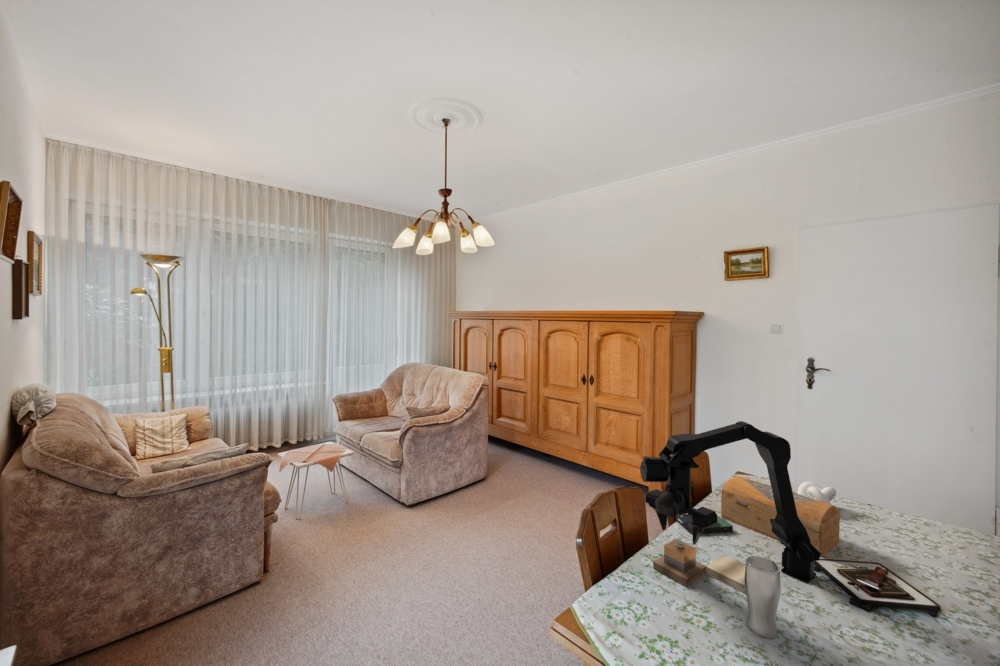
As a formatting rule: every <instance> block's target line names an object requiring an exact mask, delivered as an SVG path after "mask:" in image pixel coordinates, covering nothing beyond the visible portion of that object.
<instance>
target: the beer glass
mask: <svg viewBox="0 0 1000 666" xmlns="http://www.w3.org/2000/svg"><path fill="white" fill-rule="evenodd" d="M744 564H745V574H744V583H745V591H746V592H745V595H746V600H747V601H746V602H747V614H746V615H747V616H746V621H745V625H746V627H747V629H748V630H749V631H750V632H752V633H753V634H754V635H755V636H758V637H760V638H763V639H767V640H769V639H771V640H772V639H776V638H777V637H778V627H777V619H776V616H777V612H778V606H779V604H780V603H779V602H780V599H781V598H780V597H781V588H782V587H781V585H782V584H781V582H782V581H781V573H780V572H781V568H780V567H779V565H778V564H777V563H775V562H774V561H772V560H770V559H768V558H765V557H761V556H757V555H751V556H747V557H746V558H745V563H744Z"/></svg>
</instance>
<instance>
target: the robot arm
mask: <svg viewBox="0 0 1000 666" xmlns="http://www.w3.org/2000/svg"><path fill="white" fill-rule="evenodd" d="M745 439H746V440H749V441H751V442H753V443H754V445H755V448H756V449H757V452H758V454H759V456H760V458H761V459H762V460H763V462H764V464H765V466H766V469H767V474H768V478H769V482H770V486H771V488H772V493H773V497H774V502H775V507H776V511H777V515H776V517H775V519H770V522H771V525H772V532H773V533H774V534H775V535H776V537H777V538H778V539H779V540H780V541H779V542H780V544H781V545H783V551H782V552H781V567H782V568H780V572H782V573H784V574H785V575H788V576H790V577H792V578H795V579H797V580H799V581H801V582H804V583H807V584H809V583H811V581H812V580H814V578H815V577H816V576H817V573H816V572H815V561H817V562H818V561H819V560H820V558H821V557H820V555H821V553H820V552H819V551H818V550H817V549H816V548H815V547H814V546H813V545H812V544H811V540H810V538H809V535H808V533H807V530H806V528H805V527H804V525H803V524H802V522H801V521H800V519H799V517H798V515H797V510H796V506H795V501H794V496H793V492H794V491H793V488H792V482H791V478H790V473H789V470H788V467H789V466H788V465H789V463H790V461H791V458H792V457H791V456H792V455H791V454H792V451H791V444H790V442H789V440H787V439H785V438H784V437H782V436H779V435H777V434H774V433H772V432H769V431H763V430H760V429H758V428H757V427H755V426H754V425H752V424H750V423H748V422H745V421H742V420H740V421H739V420H738V421H737V422H735V423H733V424H729V425H725V426H722V427H718V428H714V429H711V430H707V431H704V432H703V431H702V432H701V433H695V434H690V433H683V434H681V433H680V434H675V435H674V434H673V435H672V436H669V437H668V439H667V440H666V444H665V446H664V447H663V448H662V449H661V451H660V452H659V454H658V457H656V456H655V457H654V456H652V457H651V456H646V455H645V456H642V461H641V463H640V466H639V467H640V468H639V470H640V471H639V472H640V477H641V480H642V481H643V482H644V483H665V482H668V483H667V484H665V487H664V489H665V490H664V491H663V490H660V489H657V488H655V489H653V490H650V491H647V492H646V493H645V495H644V502H645V503H646V504H648V506H649V507H650V508H652V509H653V510H654V511H655V513H656V516H657V518H658V521H659V523H660V528H661V530H662V531H665V530H666V529H667V523H668V517H669V518H673V517H674V516H676V515H678V514H679V515H681V514H690V515H692V520H693V522H691V524H692V526H693V535H692V544H693V545H696V544H697V543H698V541H699V539H700V537H701V533H702V532H703V530H704V528H705V527H709V526H711V525H712V524H714V523H716V522H717V516H718V514H717V513H716V511H715V510H712V509H710V508H707V507H705V506H701V507H699V508H694V507H692V505H693V504H694V500H693V499H692V496H691V495H692V492H691V491H693V490H694V486H693V485H692V469H699V468H700V465H698V464H697V462H696V461H695V460H694V459H695V458H697V457H699V456H700V455H701V454H702V453H704V452H705V451H707V450H711V449H714V448H718V447H721V446H725V445H728V444H732V443H735V442H738V441H742V440H743V441H744V440H745ZM671 455H672V456H671Z"/></svg>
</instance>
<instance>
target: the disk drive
mask: <svg viewBox="0 0 1000 666" xmlns="http://www.w3.org/2000/svg"><path fill="white" fill-rule="evenodd" d="M675 522H676V523H677V524H679V525H680V526H681V527H682V528H684V529H685V531H687V532H688V533H689V534H691V536H693V526H692V524H691V522H693V520H692V515H690V514H688V513H682V514H681V515H679V514H675ZM730 533H731V534H733V533H734V526H733V525H732V524H731V523H729V522H728V521H727V520H726V519H723V518H722V517H720V516H718V515H717V522H716V523H714V524H712V525H711V526H709V527H705V528H704V530H703V532H702V533H701V535H713V534H714V535H715V534H717V535H718V534H730ZM701 535H700V536H701Z"/></svg>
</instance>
